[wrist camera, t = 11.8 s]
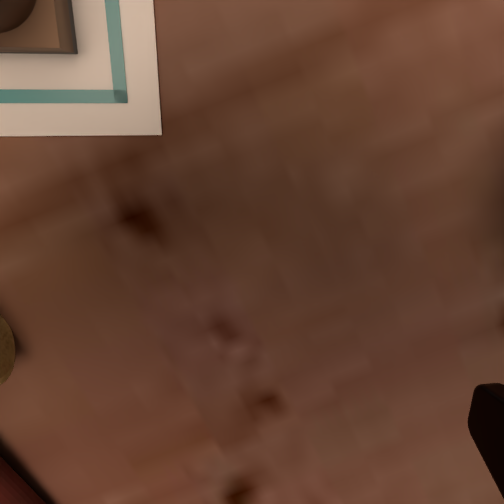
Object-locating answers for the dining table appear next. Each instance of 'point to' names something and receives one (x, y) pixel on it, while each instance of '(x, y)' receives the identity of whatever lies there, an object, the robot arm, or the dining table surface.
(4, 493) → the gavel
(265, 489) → the dining table surface
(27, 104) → the print card
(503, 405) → the robot arm
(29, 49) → the stamp
